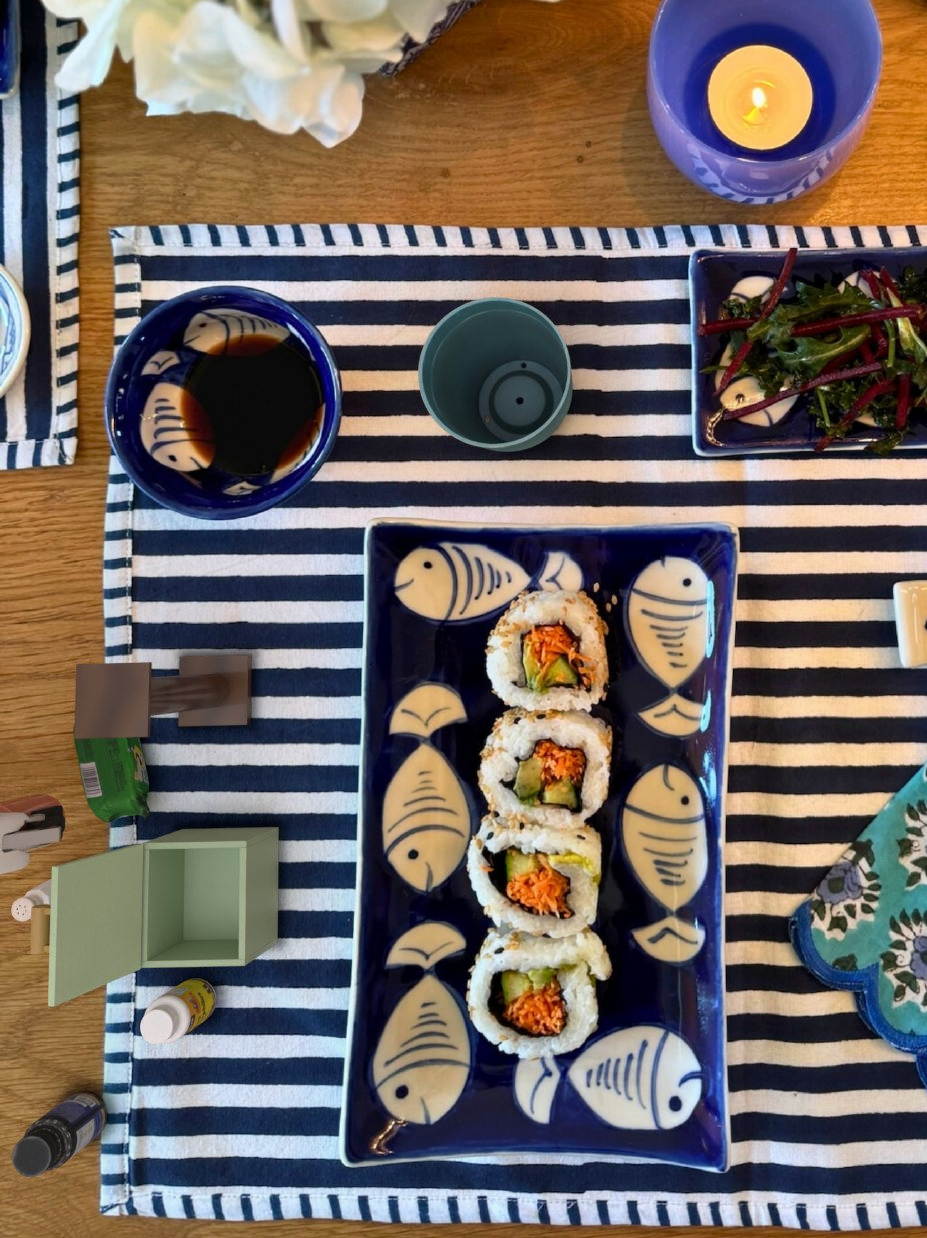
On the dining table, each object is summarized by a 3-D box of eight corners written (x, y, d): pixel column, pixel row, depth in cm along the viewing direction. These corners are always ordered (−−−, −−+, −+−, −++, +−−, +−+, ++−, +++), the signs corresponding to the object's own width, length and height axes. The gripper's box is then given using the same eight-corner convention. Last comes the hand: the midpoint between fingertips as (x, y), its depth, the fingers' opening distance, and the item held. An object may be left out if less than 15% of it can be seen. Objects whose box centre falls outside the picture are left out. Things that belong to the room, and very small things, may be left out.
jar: (13, 848, 103) (-38, 863, 96) (14, 794, 103) (-37, 805, 96) (65, 846, 103) (18, 860, 96) (66, 792, 103) (19, 803, 96)
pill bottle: (52, 1108, 138) (-5, 1149, 127) (92, 1080, 138) (38, 1118, 127) (78, 1150, 137) (22, 1194, 126) (118, 1121, 137) (66, 1163, 126)
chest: (278, 826, 140) (246, 840, 130) (277, 943, 139) (244, 965, 129) (182, 829, 140) (142, 842, 131) (180, 945, 139) (139, 968, 129)
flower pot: (430, 439, 144) (393, 413, 127) (484, 316, 146) (454, 274, 129) (555, 490, 143) (534, 470, 127) (608, 366, 145) (594, 330, 128)
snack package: (110, 826, 141) (87, 833, 135) (84, 708, 142) (60, 711, 137) (163, 811, 141) (142, 818, 136) (137, 694, 142) (115, 696, 137)
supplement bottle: (217, 1022, 138) (178, 1052, 128) (174, 1021, 138) (131, 1051, 128) (219, 976, 139) (180, 1003, 128) (176, 975, 139) (134, 1002, 129)
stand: (182, 725, 142) (69, 743, 117) (183, 656, 142) (71, 659, 118) (251, 724, 141) (152, 741, 117) (251, 654, 142) (153, 657, 117)
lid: (58, 866, 117) (17, 865, 118) (54, 1006, 116) (12, 1004, 117) (143, 843, 130) (106, 843, 131) (140, 969, 129) (103, 967, 130)
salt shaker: (101, 872, 140) (49, 892, 129) (90, 914, 140) (37, 937, 129) (61, 863, 140) (5, 882, 129) (50, 905, 140) (-7, 927, 129)
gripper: (-232, 917, 83) (-63, 868, 101) (-10, 908, 83) (120, 860, 101) (-228, 817, 83) (-61, 786, 102) (-8, 808, 83) (120, 778, 101)
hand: (27, 823), depth 101 cm, fingers closed on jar, 5 cm apart
